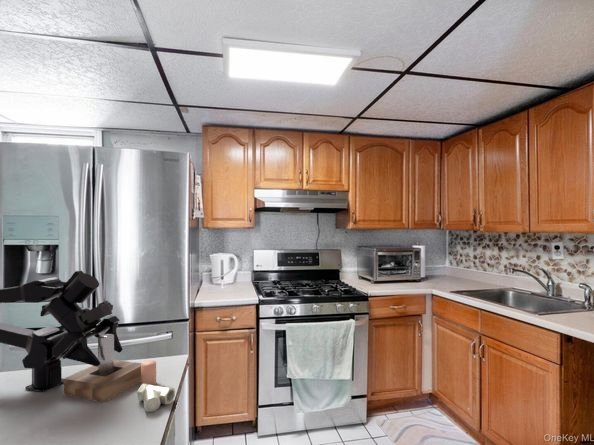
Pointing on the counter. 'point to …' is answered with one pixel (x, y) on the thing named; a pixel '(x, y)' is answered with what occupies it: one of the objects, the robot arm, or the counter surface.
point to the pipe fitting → (155, 396)
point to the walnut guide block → (102, 381)
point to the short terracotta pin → (148, 372)
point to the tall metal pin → (106, 354)
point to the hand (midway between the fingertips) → (110, 357)
